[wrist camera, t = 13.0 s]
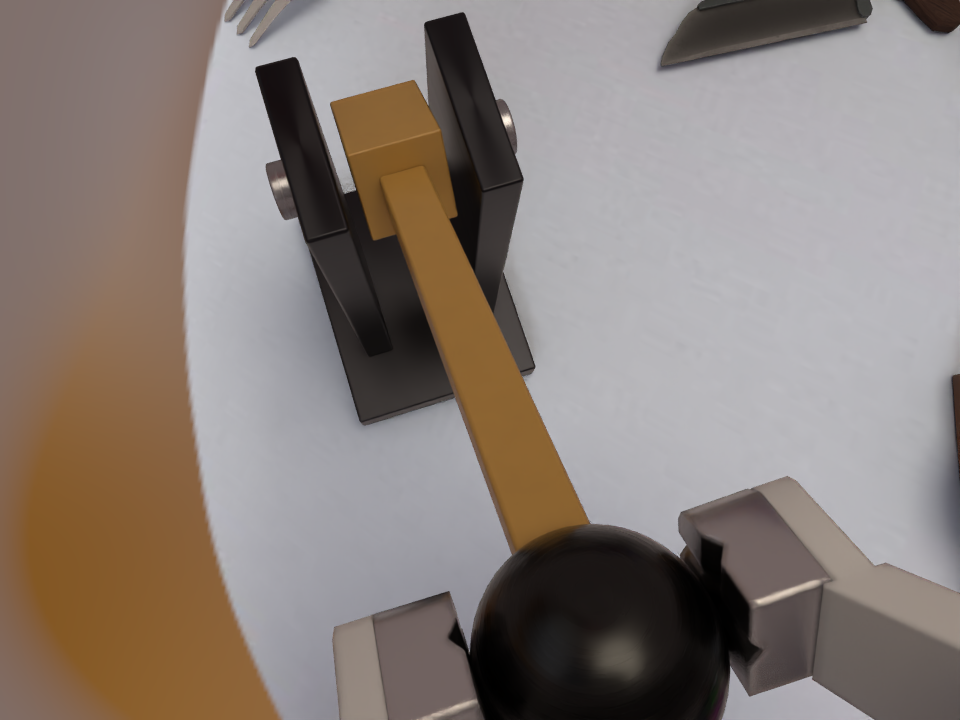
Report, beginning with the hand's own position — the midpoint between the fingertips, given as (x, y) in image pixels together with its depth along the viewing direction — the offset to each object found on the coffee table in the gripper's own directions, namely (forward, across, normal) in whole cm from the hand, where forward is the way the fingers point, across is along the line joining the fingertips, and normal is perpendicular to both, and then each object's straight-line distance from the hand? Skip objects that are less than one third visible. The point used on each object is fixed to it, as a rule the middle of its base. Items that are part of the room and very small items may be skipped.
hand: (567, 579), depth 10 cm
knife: (+25, -20, +1) cm, 32 cm away
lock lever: (+6, 0, +1) cm, 6 cm away
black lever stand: (+20, 0, +6) cm, 21 cm away
